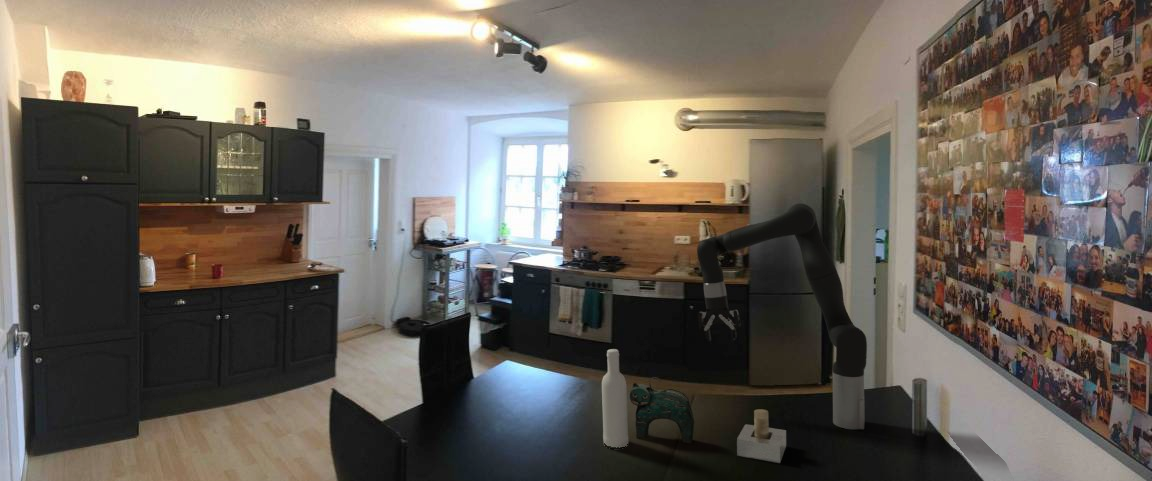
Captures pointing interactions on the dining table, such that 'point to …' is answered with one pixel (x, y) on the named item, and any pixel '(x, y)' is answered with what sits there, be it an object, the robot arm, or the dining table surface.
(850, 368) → the robot arm
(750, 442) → the socket block
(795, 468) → the dining table surface
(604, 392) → the bottle
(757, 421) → the wooden peg
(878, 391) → the dining table surface
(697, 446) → the dining table surface
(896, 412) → the dining table surface
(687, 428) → the ceramic cat
